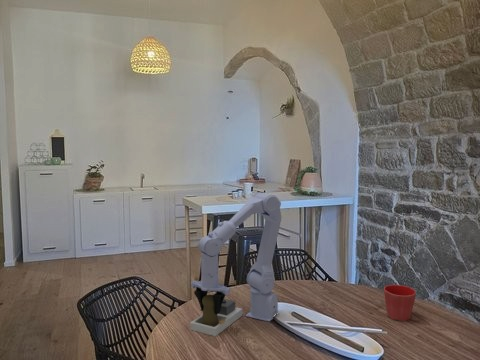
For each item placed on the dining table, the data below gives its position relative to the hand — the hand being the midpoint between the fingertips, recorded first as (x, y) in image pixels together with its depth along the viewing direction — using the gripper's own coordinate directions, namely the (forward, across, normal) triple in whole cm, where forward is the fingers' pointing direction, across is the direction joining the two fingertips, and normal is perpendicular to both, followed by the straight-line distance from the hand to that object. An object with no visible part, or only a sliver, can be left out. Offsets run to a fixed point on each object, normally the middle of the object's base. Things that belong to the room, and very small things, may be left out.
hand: (210, 311), depth 139 cm
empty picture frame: (+5, 0, +4) cm, 7 cm away
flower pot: (+6, +54, +39) cm, 67 cm away
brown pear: (+6, 0, 0) cm, 6 cm away
